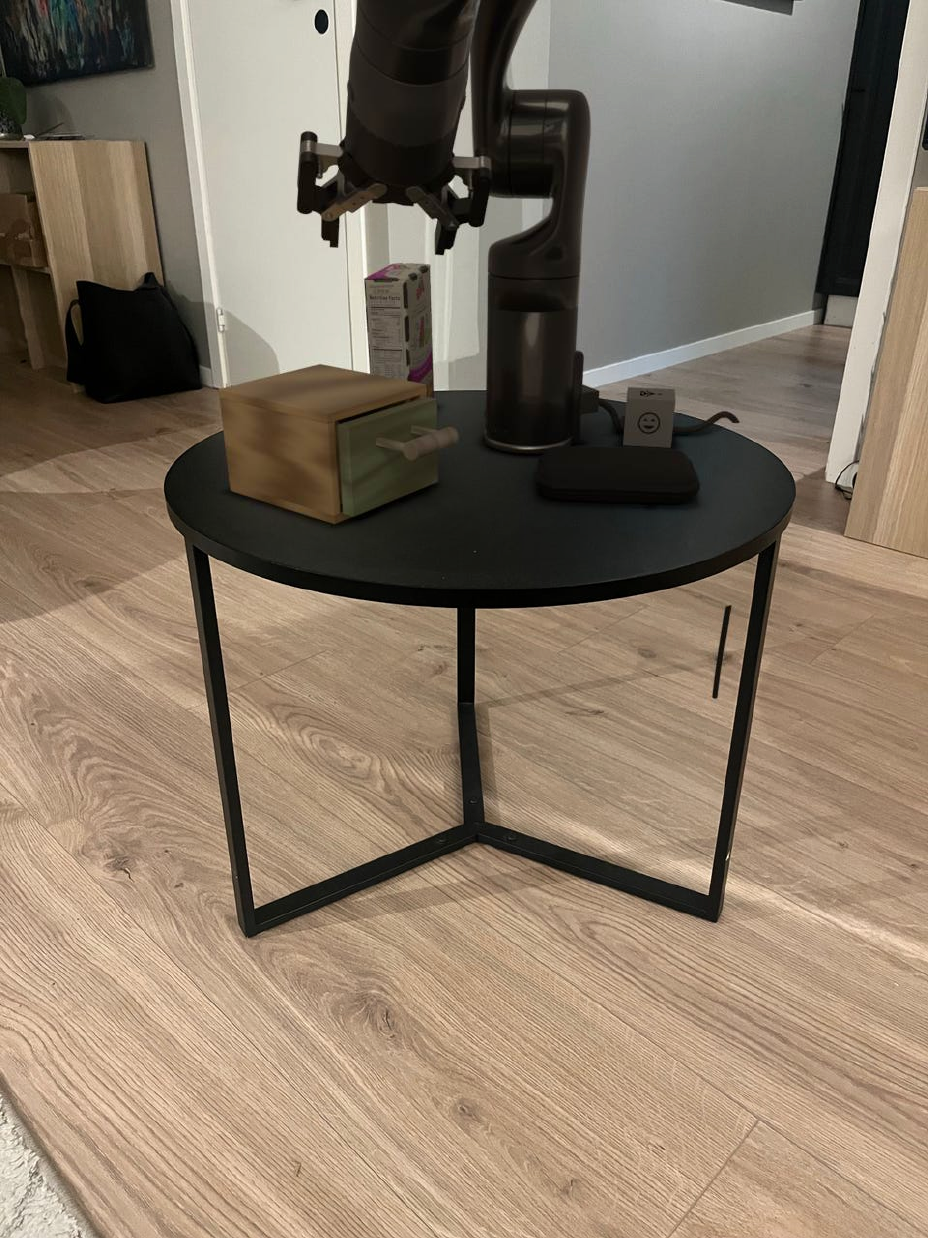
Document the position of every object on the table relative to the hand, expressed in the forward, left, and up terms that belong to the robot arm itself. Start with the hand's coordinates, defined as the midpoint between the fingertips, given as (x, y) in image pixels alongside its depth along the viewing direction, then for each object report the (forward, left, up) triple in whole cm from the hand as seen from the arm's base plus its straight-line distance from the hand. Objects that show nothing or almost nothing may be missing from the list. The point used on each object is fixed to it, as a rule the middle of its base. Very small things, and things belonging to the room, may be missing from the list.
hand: (386, 241), depth 77 cm
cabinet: (+5, -5, -22) cm, 23 cm away
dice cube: (-31, -4, -22) cm, 39 cm away
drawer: (+3, -1, -21) cm, 21 cm away
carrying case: (-19, +7, -22) cm, 30 cm away
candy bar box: (-11, -24, -22) cm, 35 cm away
